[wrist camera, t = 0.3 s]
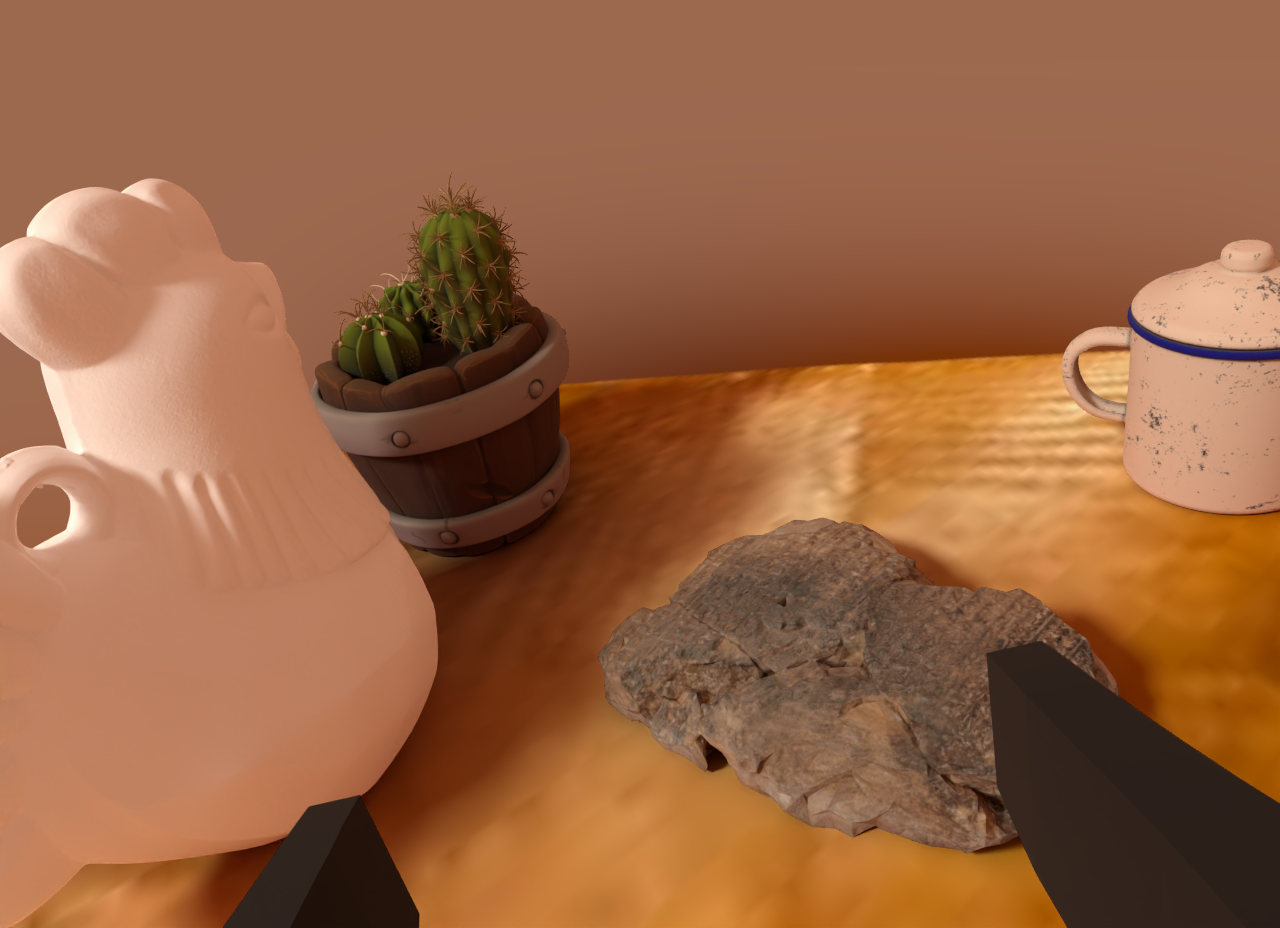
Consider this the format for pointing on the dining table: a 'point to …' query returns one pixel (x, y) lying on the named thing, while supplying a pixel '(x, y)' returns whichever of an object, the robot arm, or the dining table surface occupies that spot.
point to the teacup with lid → (1200, 383)
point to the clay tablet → (836, 680)
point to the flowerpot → (453, 392)
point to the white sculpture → (183, 561)
